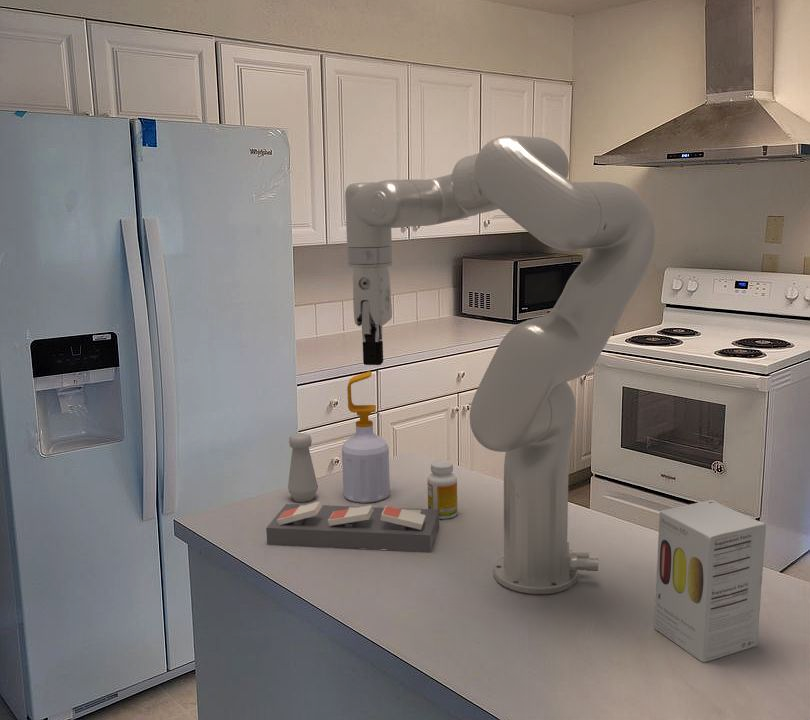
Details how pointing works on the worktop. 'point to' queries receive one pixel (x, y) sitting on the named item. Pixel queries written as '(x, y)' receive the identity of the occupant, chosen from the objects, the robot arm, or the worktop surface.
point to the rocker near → (403, 517)
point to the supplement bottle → (442, 489)
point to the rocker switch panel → (354, 531)
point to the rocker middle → (350, 515)
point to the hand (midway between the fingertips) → (373, 363)
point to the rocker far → (299, 513)
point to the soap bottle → (365, 456)
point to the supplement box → (709, 579)
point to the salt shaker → (301, 469)
